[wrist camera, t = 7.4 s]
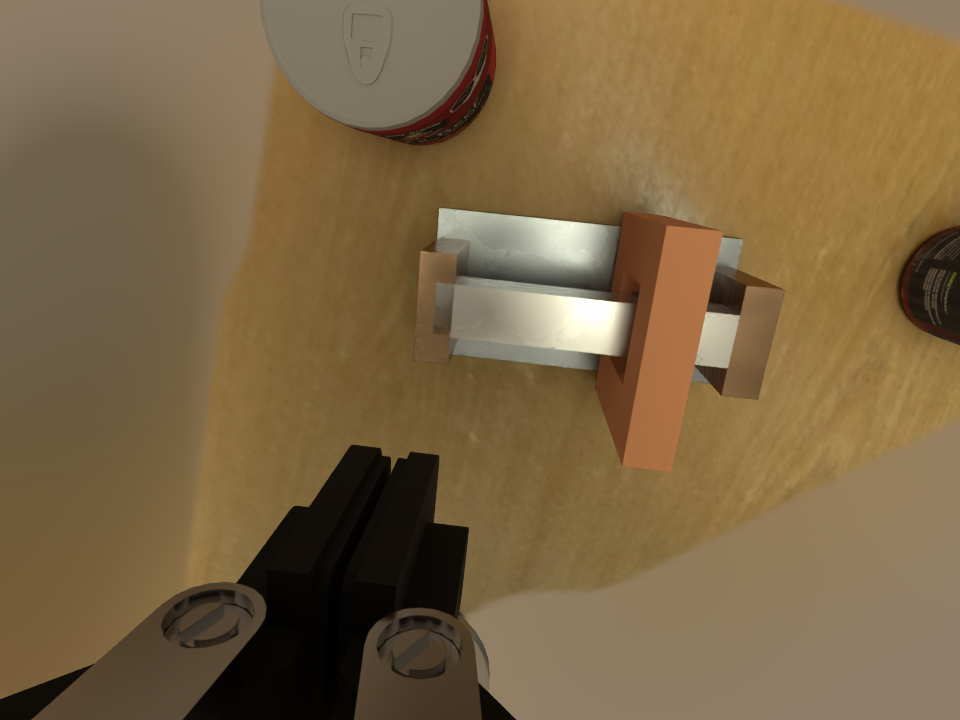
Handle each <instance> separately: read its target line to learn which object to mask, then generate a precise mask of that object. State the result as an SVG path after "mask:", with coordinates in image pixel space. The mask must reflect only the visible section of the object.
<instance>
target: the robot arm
mask: <svg viewBox="0 0 960 720" xmlns="http://www.w3.org/2000/svg"><path fill="white" fill-rule="evenodd" d="M438 469H439V455H433V454H424V453H416V452H410V454H409V456H408V458H407V459H403V458H398V460H397V462H396V464H395V466H394V468H393V470H392V472H391V458H390V457H387V456H382V451H381V448H375V447H367V446H359V445H351V446H350V447H349V449H348V450H347V452H346V453H345V455H344V456H343V458H342V459H341V461H340V462H339V464H338V465H337V467H336V468H335V470H334V471H333V473H332V474H331V475H330V477H329V478H328V480H327V481H326V483H325V484H324V486H323V487H322V489H321V490H320V492H319V493H318V495H317V496H316V498H315V499H314V501H313V502H312V503H311V505H310V506H309V507H302V506H294V507H293V508H292V509H291V510H290V511H289V512H288V514H287V515H286V516H285V518H284V519H283V520H282V522H281V523H280V524H279V526H278V527H277V529H276V530H275V531H274V533H273V534H272V535H271V537H270V538H269V539H268V541H267V542H266V544H265V545H264V546H263V548H262V549H261V550H260V552H259V553H258V554H257V556H256V557H255V559H254V560H253V561H252V563H251V564H250V565H249V567H248V568H247V569H246V571H245V572H244V574H243V575H242V576H241V578H240V579H239V580H238V582H237V583H229V582H222V583H209V584H205V585H201V586H197V587H193V588H190V589H188V590H185V591H183V592H181V593H179V594H176V595H175V596H173V597H172V598H170V599H169V600H168V601H166V602H165V603H163V604H162V605H161V606H160V607H158V608H157V609H156V610H155V611H154V612H153V613H152V614H150V615H149V616H148V617H147V618H146V619H145V620H144V621H143V622H141V623H140V624H139V625H138V626H137V627H136V628H135V629H134V630H132V631H131V632H130V633H129V634H128V635H127V636H126V637H124V638H123V639H122V640H121V641H120V642H119V643H118V644H117V645H115V646H114V647H113V648H112V649H111V650H110V651H109V652H107V653H106V654H105V655H104V656H103V657H102V658H101V659H100V660H98V661H97V662H96V663H95V664H93V665H90V666H88V667H85V668H82V669H79V670H77V671H74V672H71V673H69V674H66V675H64V676H61V677H58V678H56V679H53V680H50V681H47V682H45V683H42V684H40V685H37V686H34V687H32V688H29V689H26V690H24V691H21V692H18V693H16V694H13V695H11V696H8V697H5V698H2V699H0V720H516V719H515V718H514V717H513V716H512V715H511V714H510V713H509V712H508V711H507V710H506V709H505V708H504V707H503V706H502V705H501V704H500V703H499V702H498V701H497V700H496V699H495V698H494V697H493V696H492V695H491V694H490V693H489V692H488V689H489V675H490V672H489V663H488V657H487V654H486V651H485V648H484V646H483V643H482V642H481V640H480V638H479V637H478V635H477V633H476V632H475V630H474V629H473V628H472V627H471V626H470V625H469V624H468V623H467V621H466V620H465V619H464V618H463V617H461V616H460V615H459V610H460V603H461V595H462V587H463V579H464V570H465V561H466V552H467V543H468V532H469V527H461V526H454V525H446V524H438V523H434V513H435V502H436V491H437V480H438ZM390 473H391V475H390Z"/></svg>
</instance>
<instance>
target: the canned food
mask: <svg viewBox="0 0 960 720" xmlns="http://www.w3.org/2000/svg"><path fill="white" fill-rule="evenodd" d="M260 8H261V19H262V22H263V26H264V30H265V34H266V38H267V41H268V44H269V47H270V49H271V51H272V53H273V56H274V58H275V60H276V62H277V65H278V66H279V68H280V69H281V71H282V72H283V74H284V75H285V77H286V78H287V80H288V81H289V83H290V84H291V86H292V87H293V88H294V89H295V90H296V91H297V92H298V93H299V94H300V95H301V96H302V97H303V98H304V99H305V100H306V101H307V102H308V103H309V104H311V105H312V106H313V107H314V108H316V109H317V110H319V111H320V112H321V113H323V114H324V115H326V116H327V117H328V118H330V119H332V120H335V121H337V122H339V123H342V124H344V125H346V126H348V127H351V128H354V129H356V130H359V131H363V132H366V133H370V134H374V135H377V136H381V137H384V138H388V139H391V140H395V141H398V142H403V143H407V144H412V145H430V144H434V143H438V142H442V141H445V140H447V139H449V138H451V137H453V136H455V135H457V134H458V133H459V132H461V131H462V130H463V129H465V128H466V127H467V126H468V125H469V124H470V123H471V122H472V121H473V120H474V119H475V117H476V116H477V115H478V114H479V112H480V111H481V109H482V107H483V105H484V104H485V102H486V100H487V98H488V95H489V93H490V90H491V87H492V84H493V79H494V74H495V68H496V47H495V41H494V35H493V29H492V24H491V19H490V14H489V8H488V3H487V0H260Z"/></svg>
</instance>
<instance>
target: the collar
mask: <svg viewBox="0 0 960 720" xmlns="http://www.w3.org/2000/svg"><path fill="white" fill-rule="evenodd" d="M722 235H723V231H720V230H716V229H712V228H708V227H705V226H701V225H697V224H693V223H689V222H685V221H681V220H678V219H674V218H670V217H666V216H660V215H650V214H641V213H631V212H624V215H623V221H622V227H621V233H620V239H619V245H618V251H617V258H616V264H615V270H614V276H613V282H612V288H611V292H612V293H621V294H630V295H632V291H637V292H639V297H638V302H637V308H636V314H635V319H634V325H633V330H632V336H631V342H630V347H629V353H628V357H622V356H613V355H604V354H601V355H600V361H599V367H598V374H597V380H596V386H595V388H596V391H597V394H598V397H599V400H600V403H601V406H602V409H603V412H604V415H605V418H606V420H607V423H608V426H609V429H610V432H611V435H612V438H613V441H614V444H615V447H616V450H617V453H618V455H619V458H620V461H621V464H622V466H624V467H632V468H641V469H649V470H657V471H666V472H672V469H673V464H674V460H675V455H676V450H677V446H678V441H679V436H680V431H681V427H682V422H683V417H684V413H685V408H686V403H687V399H688V394H689V389H690V385H691V380H692V375H693V371H694V366H695V361H696V357H697V352H698V347H699V343H700V338H701V333H702V329H703V324H704V319H705V315H706V310H707V305H708V301H709V296H710V291H711V287H712V282H713V277H714V273H715V268H716V263H717V259H718V254H719V249H720V245H721V240H722Z"/></svg>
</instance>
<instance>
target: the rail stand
mask: <svg viewBox="0 0 960 720" xmlns="http://www.w3.org/2000/svg"><path fill="white" fill-rule="evenodd" d="M621 227H622V226H614V225H604V224H594V223H585V222H575V221H566V220H556V219H546V218H537V217H527V216H517V215H508V214H498V213H488V212H479V211H469V210H460V209H450V208H439V220H438V233H437V240H436V241H434V242H433V243H431V244H430V245H429V246H427V247H426V248H424V249H423V250H421V252H420V267H419V282H418V297H417V312H416V327H415V342H414V357H413V361H421V362H430V363H439V364H448V363H449V361H450V358H451V356H452V354H454V355H463V356H472V357H480V358H489V359H498V360H507V361H516V362H524V363H533V364H542V365H551V366H560V367H568V368H577V369H586V370H595V371H598V367H599V361H600V355H601V354H604V355H613V356H622V357H628V353H629V347H630V342H631V336H632V330H633V325H634V319H635V314H636V308H637V302H638V297H639V292H637V291H632V295H630V294H621V293H612V292H611V288H612V282H613V276H614V270H615V264H616V258H617V251H618V245H619V239H620V233H621ZM742 243H743V239H739V238H729V237H722V240H721V245H720V249H719V254H718V259H717V263H716V268H715V273H714V277H713V282H712V287H711V291H710V296H709V301H708V305H707V310H706V315H705V319H704V324H703V329H702V333H701V338H700V343H699V347H698V352H697V357H696V361H695V366H694V371H693V375H692V380H691V381H692V382H700V383H709V384H711V385H712V386H713V387H714V388H715V389H716V390H717V391H718V392H719V394H720V395H721V396H728V397H736V398H745V399H754V400H758V396H759V392H760V388H761V384H762V380H763V376H764V372H765V368H766V364H767V360H768V356H769V353H770V349H771V345H772V341H773V337H774V333H775V329H776V325H777V321H778V317H779V313H780V309H781V305H782V301H783V297H784V293H785V290H784V289H782V288H780V287H777V286H775V285H772V284H770V283H768V282H765V281H763V280H761V279H758V278H756V277H753V276H751V275H749V274H746V273H744V272H742V271H739V270H737V265H738V261H739V256H740V252H741V247H742Z"/></svg>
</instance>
